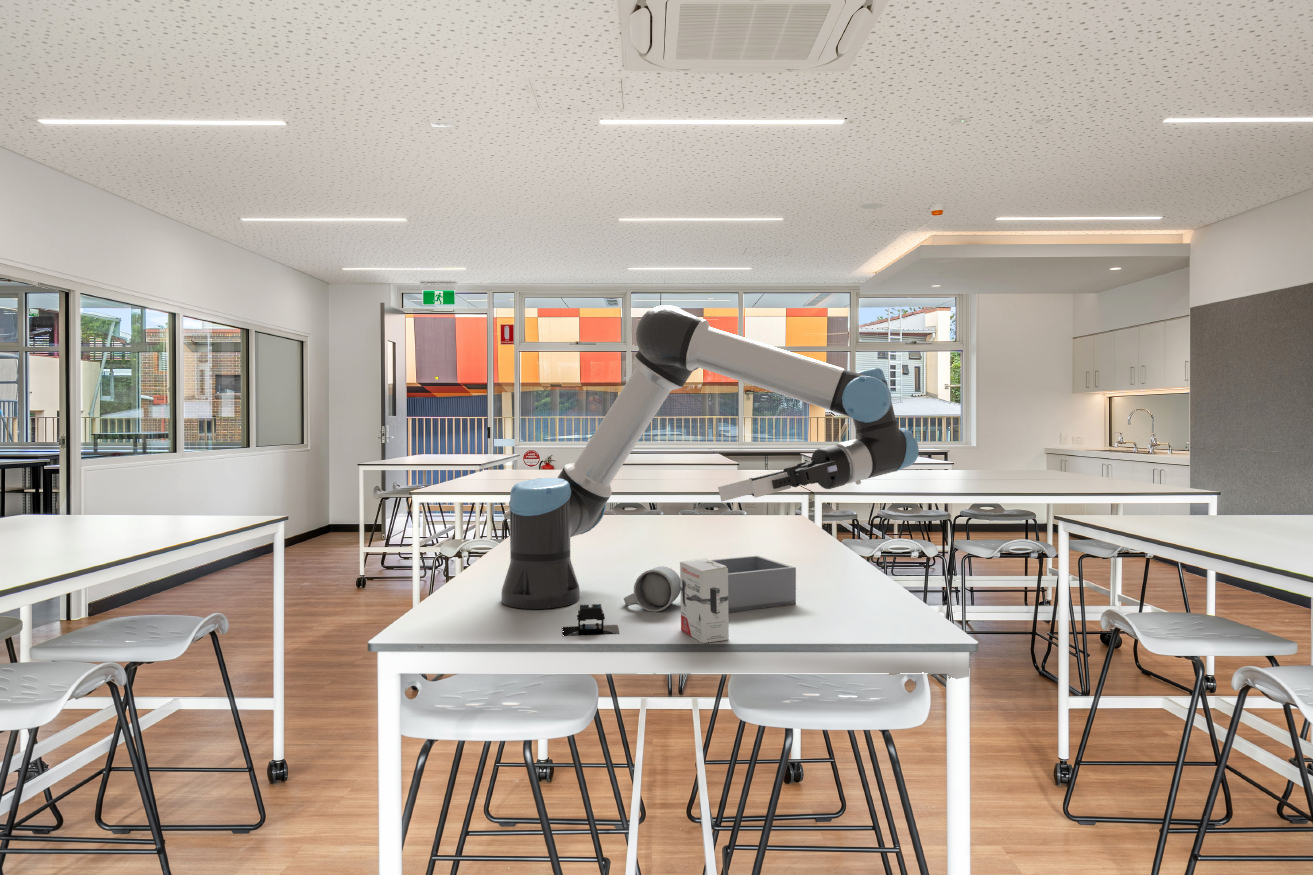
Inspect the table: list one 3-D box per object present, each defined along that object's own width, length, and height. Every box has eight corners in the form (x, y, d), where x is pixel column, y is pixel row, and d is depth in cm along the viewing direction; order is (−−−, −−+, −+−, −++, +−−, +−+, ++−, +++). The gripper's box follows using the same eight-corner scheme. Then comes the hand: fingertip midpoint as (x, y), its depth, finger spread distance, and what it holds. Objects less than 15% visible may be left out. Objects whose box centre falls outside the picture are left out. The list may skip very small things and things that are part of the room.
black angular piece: (625, 626, 126) (625, 600, 126) (629, 638, 118) (629, 610, 118) (553, 629, 124) (553, 602, 124) (552, 641, 117) (552, 613, 117)
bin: (686, 597, 144) (685, 562, 144) (757, 589, 151) (757, 555, 150) (719, 613, 131) (719, 575, 131) (795, 603, 138) (795, 567, 138)
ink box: (679, 629, 121) (679, 559, 121) (705, 626, 123) (705, 557, 123) (702, 644, 114) (701, 569, 113) (729, 640, 115) (729, 566, 115)
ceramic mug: (683, 602, 140) (683, 563, 139) (672, 613, 132) (672, 571, 132) (631, 599, 143) (631, 560, 142) (617, 609, 135) (617, 568, 135)
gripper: (887, 479, 119) (775, 510, 112) (809, 489, 143) (713, 515, 136) (875, 435, 120) (763, 463, 112) (800, 452, 143) (703, 476, 136)
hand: (735, 491), depth 124 cm, fingers open, 13 cm apart
